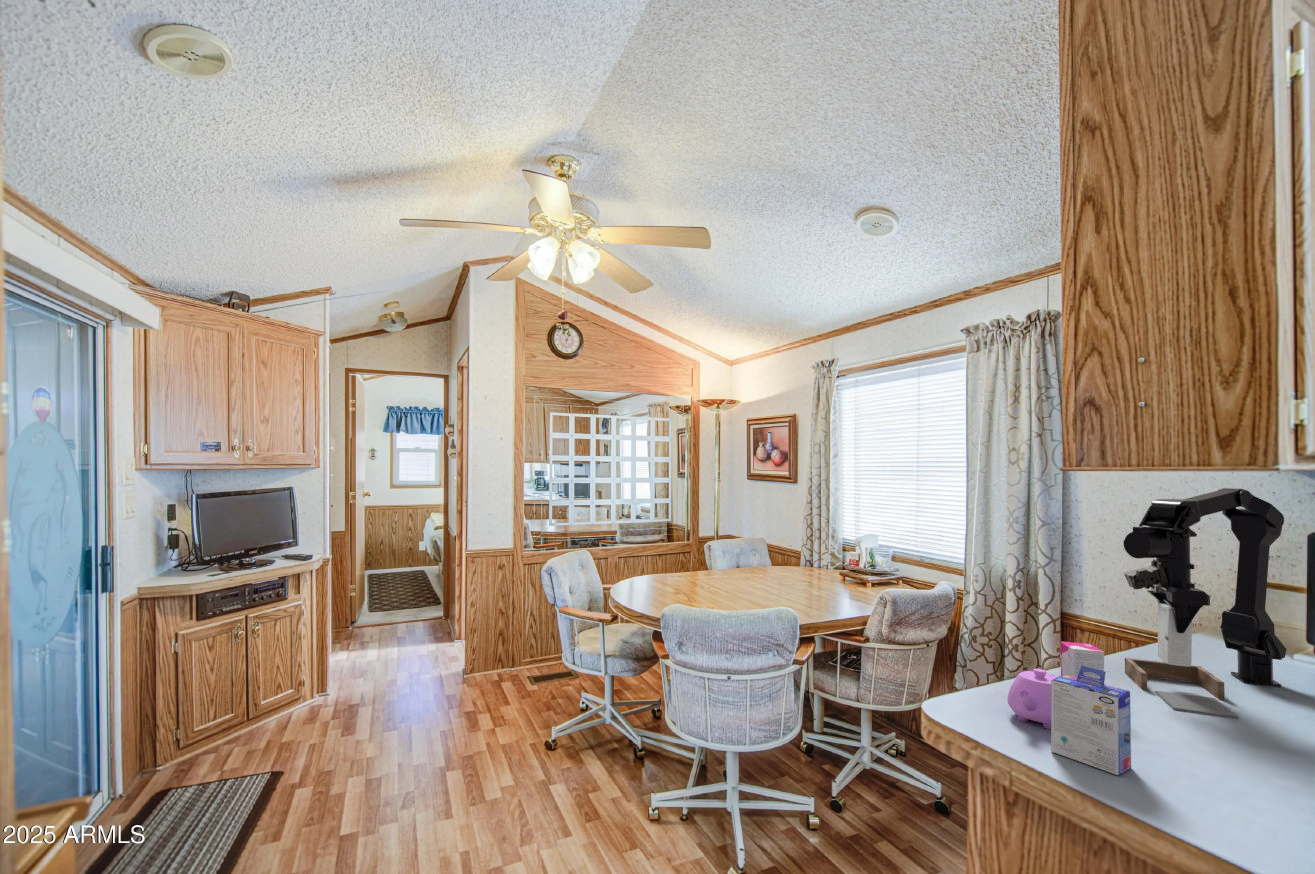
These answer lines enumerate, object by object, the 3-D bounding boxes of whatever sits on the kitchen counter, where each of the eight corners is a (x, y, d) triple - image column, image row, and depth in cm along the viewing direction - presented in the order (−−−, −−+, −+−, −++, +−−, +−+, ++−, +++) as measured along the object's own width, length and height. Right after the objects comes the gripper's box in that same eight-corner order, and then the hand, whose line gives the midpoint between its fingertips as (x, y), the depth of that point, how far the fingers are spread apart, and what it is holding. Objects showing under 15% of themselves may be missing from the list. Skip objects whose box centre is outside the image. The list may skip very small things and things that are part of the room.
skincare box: (1156, 656, 135) (1155, 601, 136) (1181, 659, 134) (1180, 603, 134) (1167, 664, 130) (1166, 607, 130) (1194, 667, 128) (1192, 609, 129)
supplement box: (1106, 709, 120) (1105, 651, 120) (1072, 707, 121) (1071, 648, 121) (1091, 698, 125) (1090, 642, 126) (1059, 696, 126) (1058, 640, 127)
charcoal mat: (1154, 692, 129) (1154, 690, 129) (1214, 699, 125) (1214, 697, 125) (1173, 709, 120) (1173, 707, 120) (1238, 718, 116) (1238, 716, 116)
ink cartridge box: (1133, 767, 97) (1132, 675, 97) (1121, 777, 93) (1119, 682, 94) (1063, 743, 105) (1062, 658, 105) (1050, 752, 101) (1049, 664, 102)
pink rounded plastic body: (1084, 720, 115) (1083, 670, 115) (1055, 742, 105) (1054, 688, 106) (1023, 702, 123) (1023, 656, 123) (992, 721, 113) (991, 671, 114)
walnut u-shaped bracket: (1124, 672, 141) (1124, 657, 141) (1201, 682, 136) (1200, 666, 136) (1141, 688, 131) (1141, 672, 131) (1224, 699, 126) (1224, 682, 126)
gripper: (1114, 549, 144) (1116, 615, 144) (1142, 560, 127) (1144, 635, 126) (1173, 552, 140) (1174, 620, 139) (1210, 564, 123) (1212, 642, 122)
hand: (1174, 629), depth 132 cm, fingers closed on skincare box, 6 cm apart
